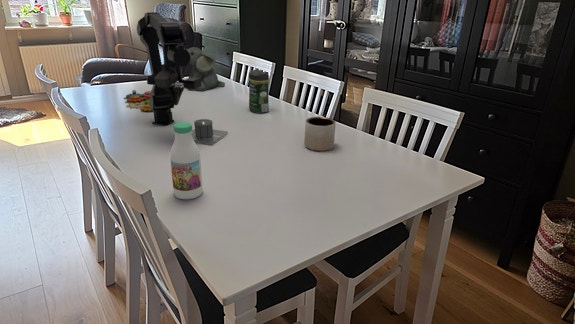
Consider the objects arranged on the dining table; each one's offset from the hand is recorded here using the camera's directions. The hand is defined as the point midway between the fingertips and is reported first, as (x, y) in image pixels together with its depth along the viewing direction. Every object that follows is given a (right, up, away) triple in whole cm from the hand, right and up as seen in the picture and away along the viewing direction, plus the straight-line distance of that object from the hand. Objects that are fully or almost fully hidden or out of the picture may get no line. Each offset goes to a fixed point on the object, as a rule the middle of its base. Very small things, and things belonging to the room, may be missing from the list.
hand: (176, 104), depth 140 cm
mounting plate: (+9, -11, +6) cm, 16 cm away
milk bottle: (+13, -30, -34) cm, 47 cm away
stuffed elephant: (-8, +20, +74) cm, 78 cm away
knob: (+9, -10, +5) cm, 15 cm away
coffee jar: (+27, +3, +38) cm, 47 cm away
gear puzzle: (-28, +6, +43) cm, 52 cm away
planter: (+52, -15, +1) cm, 54 cm away
